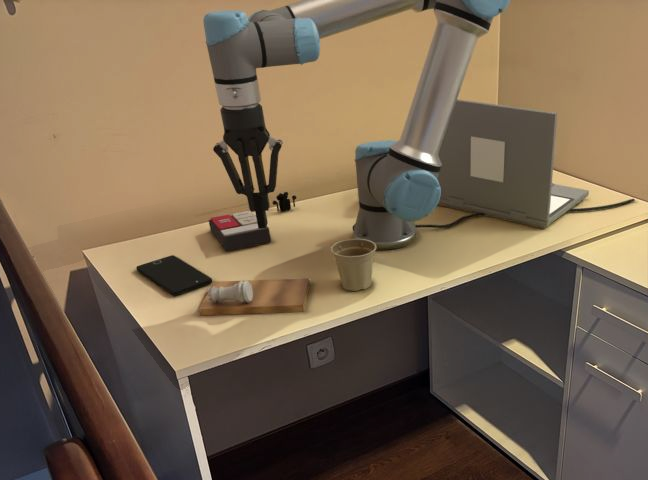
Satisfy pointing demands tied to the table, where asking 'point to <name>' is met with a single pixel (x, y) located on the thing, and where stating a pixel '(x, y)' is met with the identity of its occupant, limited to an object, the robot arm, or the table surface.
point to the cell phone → (174, 275)
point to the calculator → (238, 230)
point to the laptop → (503, 164)
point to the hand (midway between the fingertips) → (263, 225)
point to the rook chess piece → (232, 292)
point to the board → (262, 297)
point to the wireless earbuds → (284, 202)
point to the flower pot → (354, 262)
